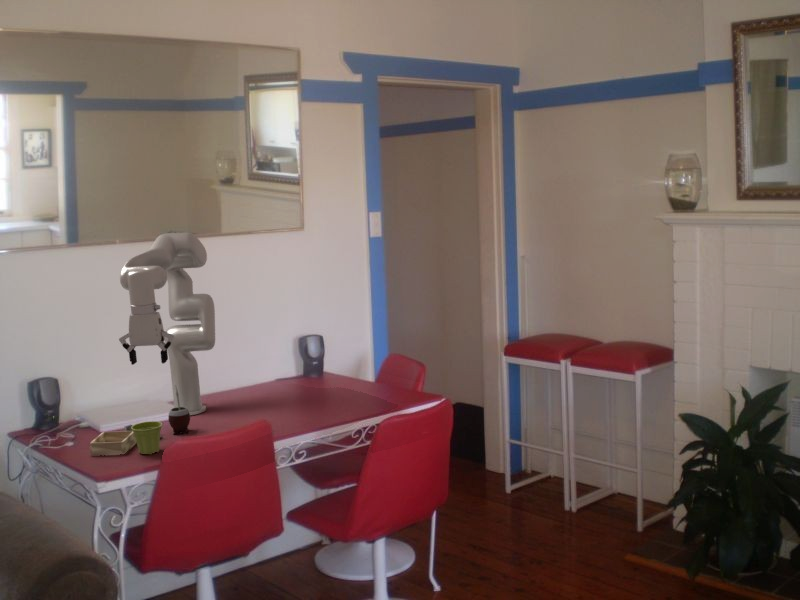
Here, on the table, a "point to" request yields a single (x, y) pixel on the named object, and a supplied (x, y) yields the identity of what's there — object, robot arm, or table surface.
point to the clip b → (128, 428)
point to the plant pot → (147, 436)
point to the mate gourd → (179, 418)
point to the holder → (112, 443)
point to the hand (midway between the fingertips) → (149, 363)
